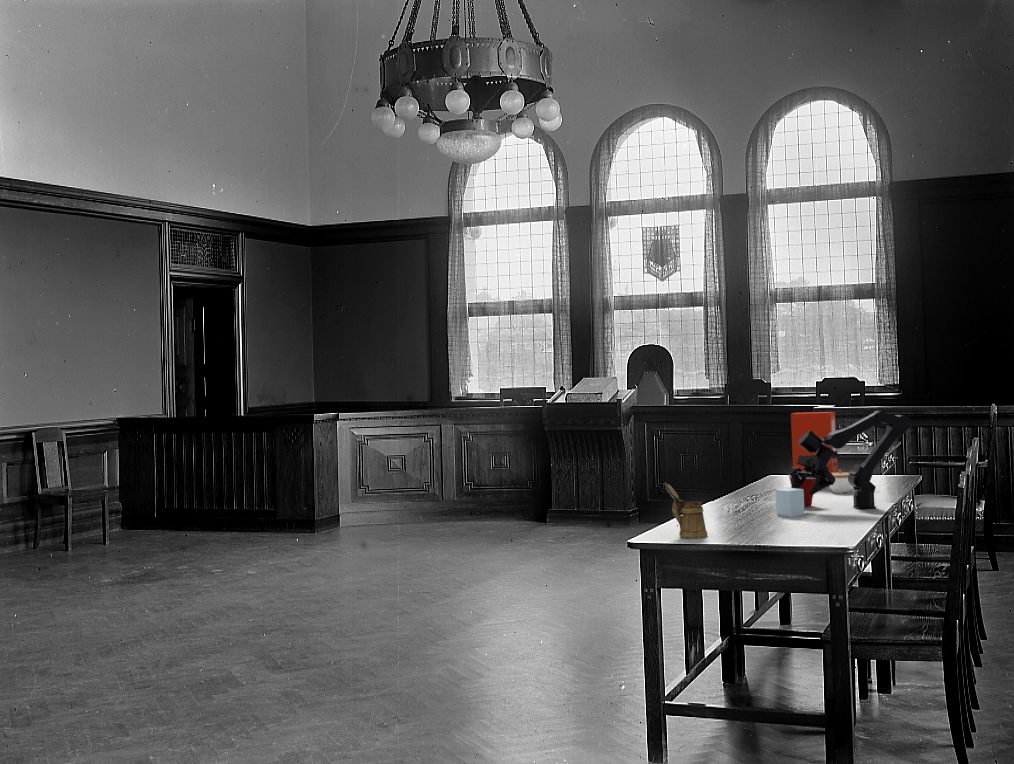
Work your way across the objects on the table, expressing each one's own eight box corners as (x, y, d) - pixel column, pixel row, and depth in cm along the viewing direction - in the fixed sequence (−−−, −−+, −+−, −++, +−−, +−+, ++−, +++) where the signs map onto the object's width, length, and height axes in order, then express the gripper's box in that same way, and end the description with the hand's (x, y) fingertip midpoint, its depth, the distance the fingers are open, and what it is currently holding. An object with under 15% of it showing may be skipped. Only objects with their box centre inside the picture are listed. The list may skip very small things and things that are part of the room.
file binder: (799, 483, 489) (796, 412, 488) (838, 484, 479) (835, 411, 479) (793, 485, 482) (790, 413, 481) (832, 486, 472) (829, 412, 472)
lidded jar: (826, 493, 450) (825, 471, 450) (829, 490, 460) (828, 468, 459) (853, 493, 446) (852, 471, 445) (855, 490, 456) (854, 468, 455)
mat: (813, 516, 391) (813, 515, 391) (839, 519, 380) (839, 518, 380) (789, 520, 385) (789, 518, 385) (814, 523, 374) (814, 522, 374)
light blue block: (790, 513, 400) (789, 487, 400) (804, 515, 394) (803, 489, 394) (776, 515, 396) (775, 489, 396) (790, 517, 390) (789, 491, 390)
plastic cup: (820, 507, 411) (818, 476, 411) (790, 508, 413) (789, 476, 413) (817, 504, 421) (816, 473, 421) (788, 504, 424) (787, 473, 423)
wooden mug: (669, 534, 368) (667, 480, 368) (709, 534, 363) (707, 480, 363) (663, 538, 360) (661, 484, 359) (704, 538, 355) (702, 483, 354)
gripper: (790, 446, 408) (770, 478, 403) (828, 447, 392) (807, 481, 387) (806, 464, 412) (786, 497, 407) (844, 467, 396) (824, 501, 391)
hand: (800, 493), depth 398 cm, fingers open, 9 cm apart
